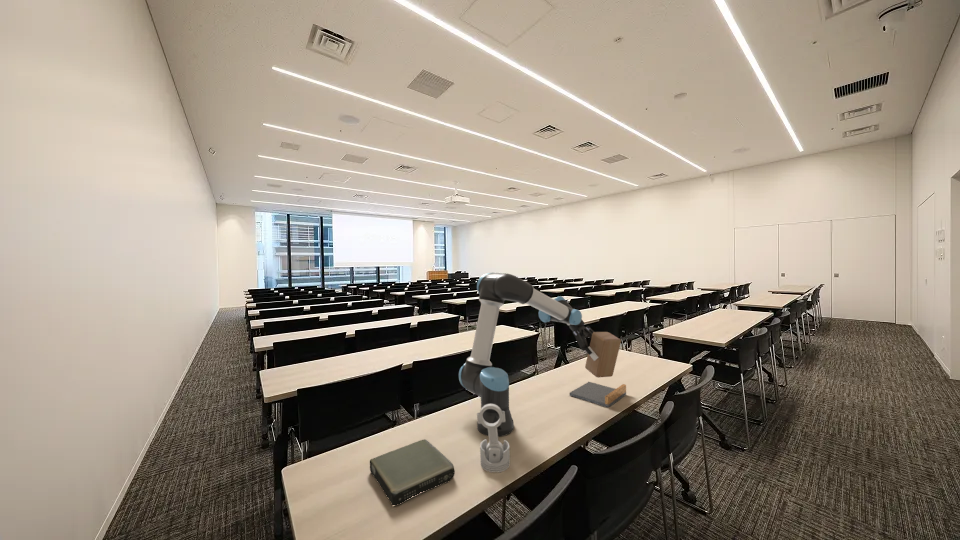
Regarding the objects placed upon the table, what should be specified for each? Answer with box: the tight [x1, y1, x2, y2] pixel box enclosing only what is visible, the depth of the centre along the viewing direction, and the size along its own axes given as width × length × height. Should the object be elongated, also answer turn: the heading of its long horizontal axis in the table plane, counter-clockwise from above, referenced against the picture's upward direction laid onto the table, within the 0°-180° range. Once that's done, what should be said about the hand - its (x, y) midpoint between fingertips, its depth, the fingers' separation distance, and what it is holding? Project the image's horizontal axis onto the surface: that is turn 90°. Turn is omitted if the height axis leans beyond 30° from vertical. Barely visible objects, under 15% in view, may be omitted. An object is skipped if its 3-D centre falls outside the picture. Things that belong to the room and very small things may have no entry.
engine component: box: [476, 404, 511, 473], centre depth 115 cm, size 11×20×10 cm
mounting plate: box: [568, 381, 627, 409], centre depth 168 cm, size 20×20×5 cm
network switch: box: [369, 438, 456, 506], centre depth 110 cm, size 23×24×5 cm
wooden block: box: [585, 331, 622, 378], centre depth 166 cm, size 10×10×20 cm
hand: (602, 356), depth 166 cm, fingers closed on wooden block, 12 cm apart
